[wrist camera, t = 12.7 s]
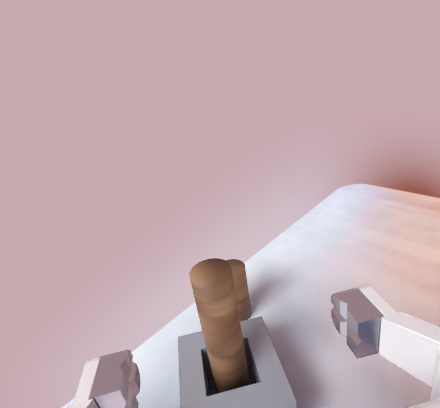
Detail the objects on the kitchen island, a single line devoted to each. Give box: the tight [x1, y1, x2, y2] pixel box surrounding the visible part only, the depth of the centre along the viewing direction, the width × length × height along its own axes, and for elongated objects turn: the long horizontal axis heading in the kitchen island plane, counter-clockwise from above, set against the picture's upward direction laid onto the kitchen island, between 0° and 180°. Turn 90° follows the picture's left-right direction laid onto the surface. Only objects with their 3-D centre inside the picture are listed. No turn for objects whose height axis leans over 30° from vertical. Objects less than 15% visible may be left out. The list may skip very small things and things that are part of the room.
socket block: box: [178, 316, 297, 408], centre depth 29 cm, size 10×10×4 cm
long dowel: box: [190, 259, 250, 394], centre depth 27 cm, size 4×4×16 cm
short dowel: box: [227, 259, 251, 322], centre depth 39 cm, size 4×4×8 cm
